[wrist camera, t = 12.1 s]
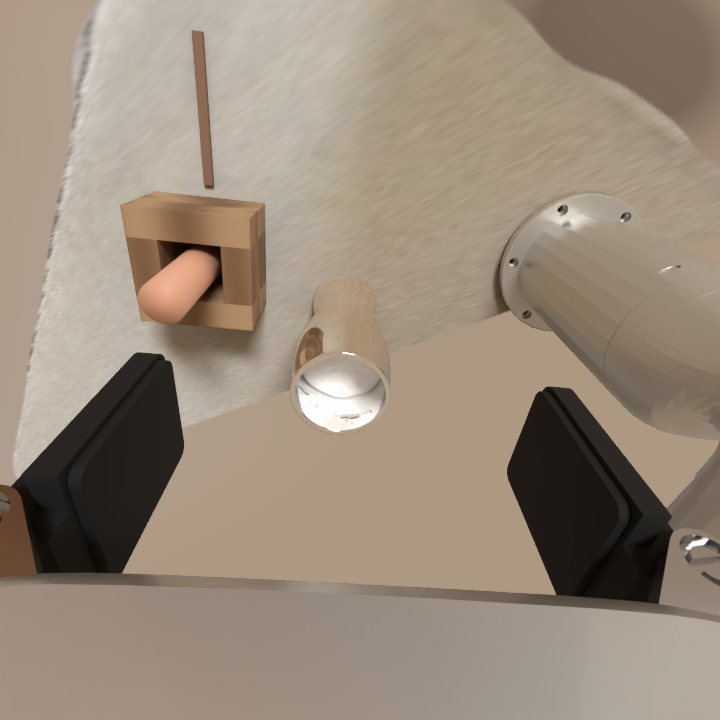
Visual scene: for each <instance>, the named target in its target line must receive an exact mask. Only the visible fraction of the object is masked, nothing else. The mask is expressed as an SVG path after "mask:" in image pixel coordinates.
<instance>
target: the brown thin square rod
mask: <svg viewBox="0 0 720 720" xmlns="http://www.w3.org/2000/svg"><path fill="white" fill-rule="evenodd" d="M192 40H193V52H194V64H195V77H196V89H197V101H198V114H199V126H200V139H201V151H202V163H203V176H204V185H210V186H214V178H213V163H212V149H211V135H210V120H209V106H208V91H207V77H206V63H205V48H204V34H203V32H200V31H193V30H192Z"/></svg>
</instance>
